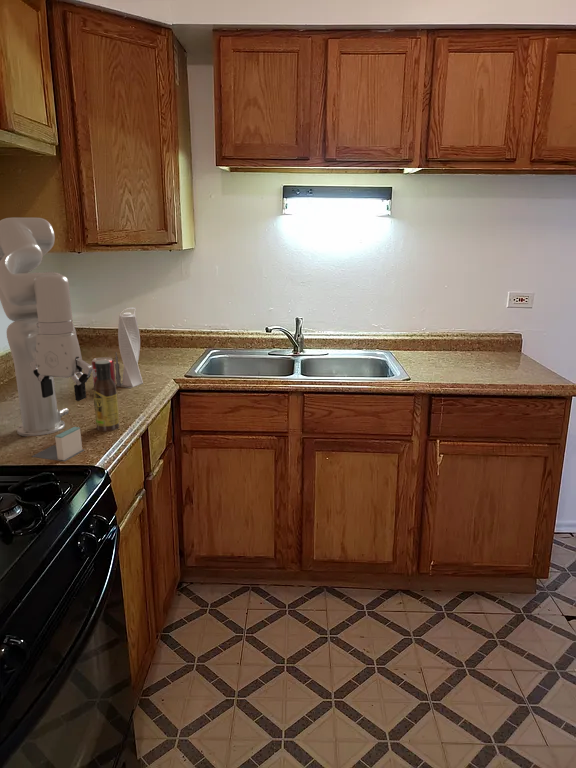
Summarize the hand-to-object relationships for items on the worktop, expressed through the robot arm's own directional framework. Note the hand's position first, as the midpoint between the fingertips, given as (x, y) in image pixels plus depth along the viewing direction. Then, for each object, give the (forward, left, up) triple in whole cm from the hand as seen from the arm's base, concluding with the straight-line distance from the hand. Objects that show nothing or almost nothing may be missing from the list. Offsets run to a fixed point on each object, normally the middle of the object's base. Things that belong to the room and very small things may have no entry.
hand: (64, 397), depth 141 cm
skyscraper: (-64, -24, -16) cm, 70 cm away
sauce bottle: (-20, -3, -16) cm, 26 cm away
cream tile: (0, 0, -15) cm, 15 cm away
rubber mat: (0, -4, -16) cm, 16 cm away
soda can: (-51, -26, -16) cm, 60 cm away
